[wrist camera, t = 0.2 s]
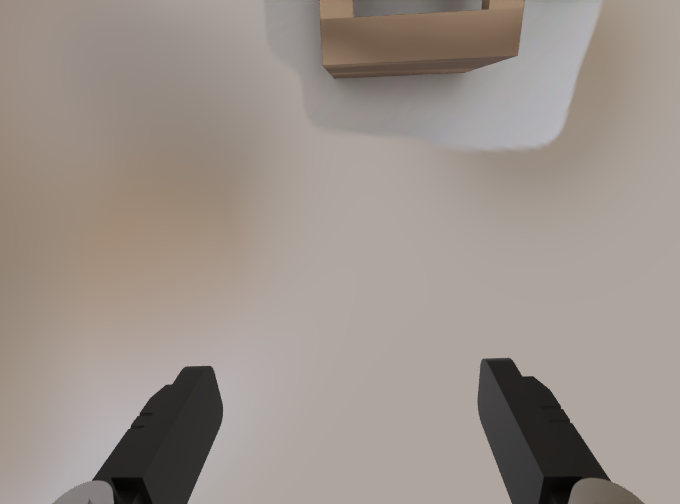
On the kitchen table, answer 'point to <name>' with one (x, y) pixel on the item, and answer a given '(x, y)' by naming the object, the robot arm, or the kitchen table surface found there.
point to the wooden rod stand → (417, 39)
